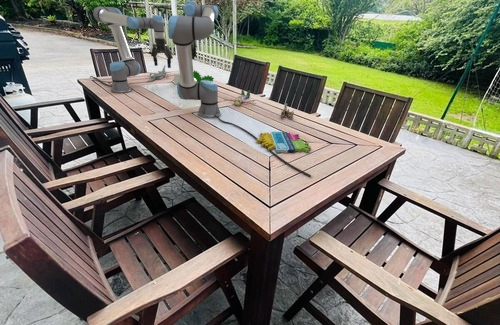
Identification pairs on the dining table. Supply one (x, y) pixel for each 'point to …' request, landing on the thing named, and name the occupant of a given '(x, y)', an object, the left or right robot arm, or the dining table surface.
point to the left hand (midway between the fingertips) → (162, 66)
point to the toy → (241, 99)
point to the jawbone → (287, 112)
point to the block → (176, 78)
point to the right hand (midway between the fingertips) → (193, 57)
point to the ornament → (198, 78)
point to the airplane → (158, 75)
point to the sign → (283, 142)
